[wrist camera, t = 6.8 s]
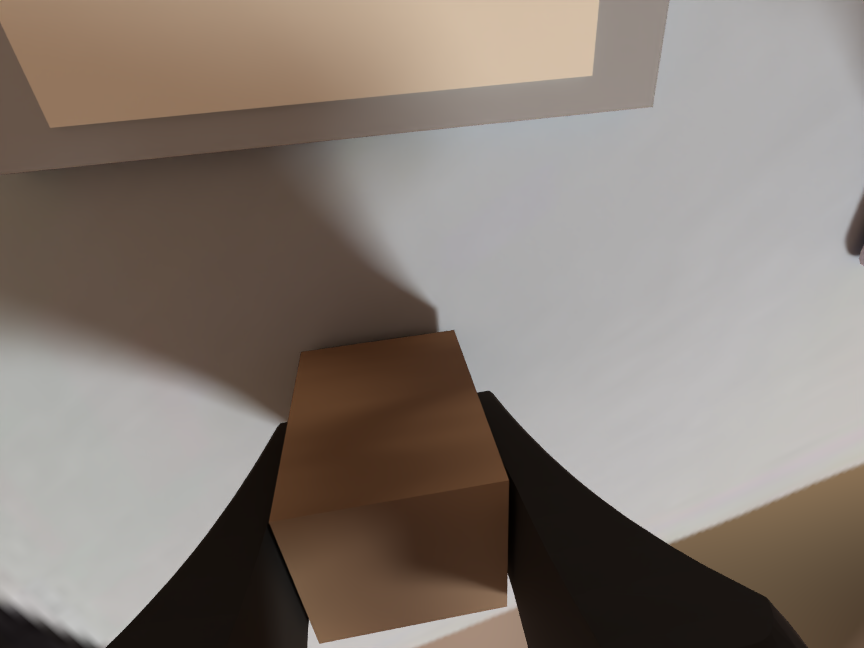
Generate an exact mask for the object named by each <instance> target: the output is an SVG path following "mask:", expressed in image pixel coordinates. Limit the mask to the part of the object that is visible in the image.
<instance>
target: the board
mask: <svg viewBox="0 0 864 648" xmlns="http://www.w3.org/2000/svg"><path fill="white" fill-rule="evenodd" d="M668 6H669V0H0V175H2V174H11V173H21V172H30V171H40V170H50V169H59V168H69V167H79V166H88V165H98V164H107V163H117V162H127V161H136V160H146V159H156V158H165V157H175V156H185V155H194V154H204V153H213V152H223V151H233V150H242V149H252V148H262V147H271V146H281V145H290V144H300V143H310V142H319V141H329V140H339V139H348V138H358V137H367V136H377V135H387V134H396V133H406V132H416V131H425V130H435V129H444V128H454V127H464V126H473V125H483V124H493V123H502V122H512V121H521V120H531V119H541V118H550V117H560V116H570V115H579V114H589V113H598V112H608V111H618V110H627V109H637V108H647V107H653V101H654V95H655V88H656V82H657V76H658V69H659V63H660V57H661V50H662V44H663V38H664V31H665V25H666V19H667V12H668Z"/></svg>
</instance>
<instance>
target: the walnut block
mask: <svg viewBox="0 0 864 648" xmlns="http://www.w3.org/2000/svg"><path fill="white" fill-rule="evenodd" d="M508 510H509V479H508V476H507V473H506V471H505V468H504V465H503V463H502V460H501V457H500V454H499V452H498V449H497V446H496V443H495V441H494V438H493V435H492V433H491V430H490V427H489V424H488V422H487V419H486V416H485V413H484V411H483V408H482V405H481V402H480V400H479V397H478V394H477V392H476V389H475V386H474V383H473V381H472V378H471V375H470V372H469V370H468V367H467V364H466V362H465V359H464V356H463V353H462V351H461V348H460V345H459V342H458V340H457V337H456V334H455V332H454V330H451V331H444V332H437V333H430V334H423V335H416V336H409V337H402V338H395V339H388V340H381V341H374V342H367V343H360V344H353V345H346V346H339V347H332V348H325V349H318V350H311V351H304V352H301V355H300V360H299V366H298V371H297V376H296V381H295V387H294V392H293V397H292V403H291V408H290V413H289V418H288V424H287V429H286V434H285V440H284V445H283V450H282V455H281V461H280V466H279V471H278V477H277V482H276V487H275V492H274V498H273V503H272V508H271V514H270V519H269V524H270V526H271V528H272V531H273V533H274V536H275V538H276V540H277V543H278V545H279V548H280V550H281V552H282V555H283V557H284V560H285V562H286V564H287V567H288V569H289V572H290V574H291V576H292V579H293V581H294V584H295V586H296V589H297V591H298V593H299V596H300V598H301V601H302V603H303V605H304V608H305V610H306V613H307V615H308V617H309V620H310V622H311V625H312V627H313V629H314V632H315V634H316V637H317V639H318V641H319V644H320V643H325V642H330V641H335V640H340V639H345V638H350V637H355V636H360V635H365V634H370V633H375V632H381V631H386V630H391V629H396V628H401V627H406V626H411V625H416V624H421V623H426V622H431V621H436V620H441V619H446V618H451V617H456V616H461V615H466V614H471V613H476V612H481V611H486V610H491V609H496V608H501V607H506V606H507V570H508Z"/></svg>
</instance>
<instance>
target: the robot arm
mask: <svg viewBox="0 0 864 648" xmlns="http://www.w3.org/2000/svg"><path fill="white" fill-rule="evenodd" d="M859 260H860V264H862V265H863V266H864V245H863V248H862V250H861V252H860V256H859ZM477 394H478V397H479V400H480V402H481V405H482V408H483V411H484V413H485V416H486V419H487V422H488V424H489V427H490V430H491V433H492V435H493V438H494V441H495V443H496V446H497V449H498V452H499V454H500V457H501V460H502V463H503V465H504V468H505V471H506V473H507V476H508V479H509V510H508V570H507V573H508V576H509V579H510V582H511V585H512V588H513V592H514V595H515V599H516V603H517V607H518V611H519V614H520V618H521V622H522V626H523V630H524V633H525V637H526V641H527V645H528V648H808V647H807V646H806V644H805V643H804V642H803V640H802V639H801V638H800V636H799V635H798V634H797V632H796V631H795V630H794V629H793V627H792V626H791V625H790V624H789V622H788V621H787V620H786V619H785V618H784V617H783V616H782V615H781V614H780V613H779V611H778V610H777V609H776V608H775V607H774V606H773V605H772V603H771V602H770V601H769V600H768V599H767V598H766V597H764V596H763V595H761V594H759V593H757V592H754V591H753V590H751V589H749V588H747V587H745V586H743V585H741V584H739V583H737V582H735V581H734V580H731V579H730V578H728V577H726V576H724V575H722V574H720V573H718V572H716V571H714V570H712V569H710V568H708V567H706V566H705V565H703V564H701V563H699V562H698V561H696V560H694V559H692V558H691V557H689V556H687V555H685V554H684V553H682V552H680V551H679V550H677V549H675V548H673V547H672V546H670V545H668V544H667V543H665V542H664V541H662V540H661V539H659V538H658V537H656V536H655V535H653V534H651V533H650V532H648V531H647V530H645V529H644V528H642V527H641V526H639V525H638V524H636V523H635V522H633V521H631V520H630V519H628V518H627V517H626V516H624V515H623V514H621V513H620V512H619V511H617V510H616V509H614V508H613V507H612V506H610V505H609V504H608V503H606V502H605V501H604V500H602V499H601V498H600V497H598V496H597V495H596V494H595V493H593V492H592V491H591V490H589V489H588V488H587V487H586V486H584V485H583V484H582V483H581V482H580V481H578V480H577V479H576V478H575V477H574V476H572V475H571V474H570V473H569V472H568V471H567V470H566V469H564V468H563V467H562V466H561V465H560V464H559V463H558V462H557V461H556V460H554V459H553V458H552V457H551V456H550V455H549V454H548V453H547V452H546V451H545V450H544V449H543V448H542V447H541V446H540V445H539V444H538V443H537V442H536V441H535V440H534V439H533V438H532V437H531V436H530V435H529V434H528V433H527V432H526V431H525V430H524V429H523V428H522V427H521V426H520V425H519V423H518V422H517V421H516V420H515V419H514V418H513V417H512V416H511V415H510V413H509V412H508V411H507V410H506V409H505V408H504V406H503V405H502V404H501V403H500V402H499V400H498V399H497V398H496V397H495V395H494V394H493V393H492V392H490V391H484V392H478V393H477ZM287 424H288V422H285V423H280V424H279V426H278V427H277V428H276V430H275V432H274V433H273V435H272V437H271V439H270V440H269V442H268V444H267V445H266V447H265V449H264V450H263V452H262V454H261V455H260V457H259V459H258V460H257V462H256V463H255V465H254V467H253V468H252V470H251V471H250V473H249V474H248V476H247V478H246V479H245V481H244V482H243V484H242V485H241V487H240V488H239V490H238V491H237V493H236V494H235V496H234V497H233V499H232V500H231V502H230V503H229V505H228V506H227V507H226V509H225V510H224V511H223V513H222V514H221V516H220V517H219V518H218V520H217V521H216V523H215V524H214V525H213V527H212V528H211V529H210V531H209V532H208V533H207V535H206V536H205V537H204V539H203V540H202V541H201V543H200V544H199V545H198V546H197V548H196V549H195V550H194V551H193V553H192V554H191V555H190V556H189V558H188V559H187V560H186V561H185V562H184V564H183V565H182V566H181V567H180V568H179V570H178V571H177V572H176V573H175V574H174V576H173V577H172V578H171V579H170V580H169V581H168V582H167V584H166V585H165V586H164V587H163V588H162V589H161V590H160V591H159V592H158V594H157V595H156V596H155V597H154V598H153V599H152V600H151V601H150V602H149V604H148V605H147V606H146V607H145V608H144V609H143V610H142V611H141V612H140V613H139V614H138V615H137V616H136V617H135V618H134V620H133V621H132V622H131V623H130V624H129V625H128V626H127V627H126V628H125V629H124V630H123V631H122V632H121V633H120V634H119V635H118V636H117V637H116V638H115V639H114V640H113V641H112V642H111V643H110V644H109V645H108V646H107V647H106V648H307V641H308V624H309V617H308V615H307V613H306V610H305V608H304V605H303V603H302V601H301V598H300V596H299V593H298V591H297V589H296V586H295V584H294V581H293V579H292V576H291V574H290V572H289V569H288V567H287V564H286V562H285V560H284V557H283V555H282V552H281V550H280V548H279V545H278V543H277V540H276V538H275V536H274V533H273V531H272V528H271V526H270V524H269V519H270V514H271V508H272V503H273V498H274V492H275V487H276V482H277V477H278V471H279V466H280V461H281V455H282V450H283V445H284V440H285V434H286V429H287Z"/></svg>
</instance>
